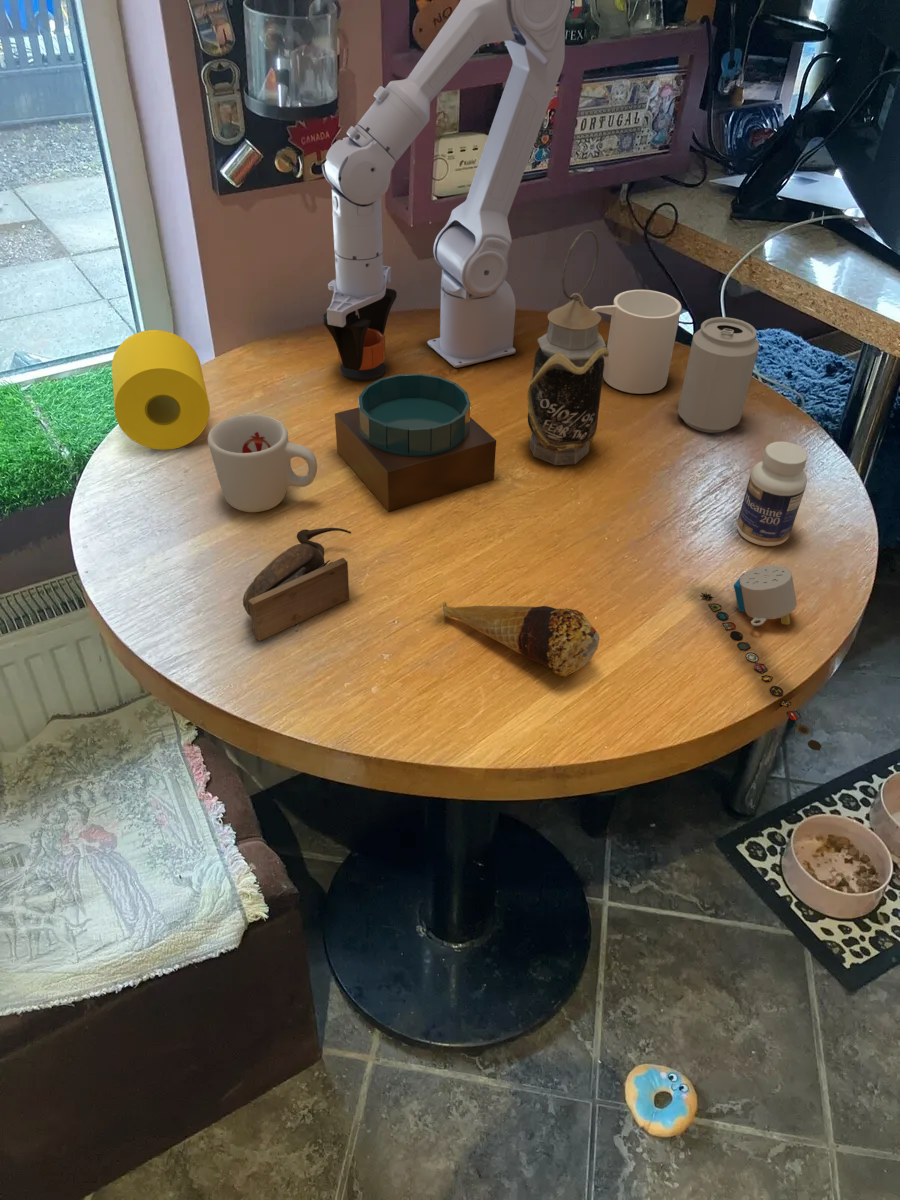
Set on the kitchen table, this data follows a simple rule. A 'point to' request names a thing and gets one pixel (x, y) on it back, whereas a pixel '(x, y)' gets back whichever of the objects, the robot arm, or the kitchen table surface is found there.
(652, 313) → the cup
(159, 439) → the tape roll
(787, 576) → the electric motor
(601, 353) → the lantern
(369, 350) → the small bowl
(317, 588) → the figurine
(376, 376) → the coaster
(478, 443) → the stand
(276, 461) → the cup
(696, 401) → the can
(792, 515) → the pill bottle
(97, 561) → the kitchen table surface
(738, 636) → the bead strand
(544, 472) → the kitchen table surface
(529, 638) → the ice cream cone
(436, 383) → the big bowl
